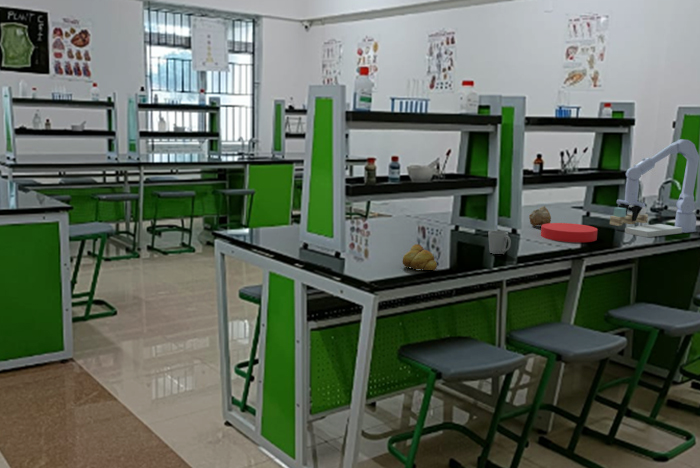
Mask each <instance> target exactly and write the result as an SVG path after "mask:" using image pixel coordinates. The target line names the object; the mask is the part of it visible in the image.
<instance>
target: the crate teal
mask: <svg viewBox="0 0 700 468" xmlns="http://www.w3.org/2000/svg"><path fill="white" fill-rule="evenodd" d="M612 216H616V217H626V208H620V207H613V215H612Z"/></svg>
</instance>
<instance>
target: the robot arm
mask: <svg viewBox="0 0 700 468" xmlns="http://www.w3.org/2000/svg"><path fill="white" fill-rule="evenodd" d="M671 154H681V155H682V156H683V157H684V158H685V159H686V165H685V171H684V175H683V176H684V177H683V181H682V188H681V192H680V194H679V197H678V199H677V201H676V203H675V207H676V209H677V210H676V211H675V212H676V213H675V222H674V226H675V227H681V228H683V229H682V233H685V234H686V233H693V232H697V230H696V226H697V215H696V214H695V213H694V211H695V208H696V204H695V196H694V192H695V191H694V190H695V187H696V179H697V175H698V169H699V162H700V155H699V154H700V153H699V152H698V150H697V148H696V144H694V142H693V141H691V140H689V139H683V138H678V139H677V140H676V141H675V142H671V143H670V144H669V145H667V146H665V148H663V149H661V150H660V151H659V152H657V153H656V154H654V155H653V156H652V157H646V158H645V157H643V158H641V161H639V162H638V163H637V164H633V167H629V168H628V169H627V170H626V172H625V177H626V182H625V191H624V192H625V193H624V199H617V200H616V204H618V207H617V208H619V207H620V208H626V215H627V214H628V210H629V207H630V206H631V214H632V221H636V219H637V216H638V214H639V212H640V211H641V209H642V207H646V202H641V201H638V196H639V186H640V182H639V181H640V178H641V176H644V174H646V173H647V172H648V171H649V172H650V171H651V170H653V168H655V166H656V164H657V163H659V162H660V161H661V160H663V159H665V158H666V157H668V156H670V155H671Z"/></svg>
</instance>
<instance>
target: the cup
mask: <svg viewBox="0 0 700 468" xmlns="http://www.w3.org/2000/svg"><path fill="white" fill-rule="evenodd" d="M507 242H508V243H507ZM511 243H512V240H511V237H510V236H509V232H508V231H505V230H504V231H503V230H489V231H488V246H489V247H488V250H489V254H490V253H494V254H503V255H505V253H506V252H508V251H509V250H510V249H511V246H512V244H511Z"/></svg>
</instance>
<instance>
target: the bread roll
mask: <svg viewBox="0 0 700 468" xmlns="http://www.w3.org/2000/svg"><path fill="white" fill-rule="evenodd" d="M402 265H403V266H404V267H405V266H406V267H411V268H413V269H412V270H414V269H423V270H433V271H435V270H436V269H437V266H438V264H437V261H436V260H435V257H434V254H433V253H432V252H431V251H429V250H427V249H425V248H424V247H423V246H422V245H421V244H419V243H418V244H417V243H416V244H413V245H412V246H411V248H410V250H409V251H407V252H406V253H404V255H403V257H402ZM406 267H405V268H406ZM411 268H410V269H411ZM423 270H422V271H423Z"/></svg>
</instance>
